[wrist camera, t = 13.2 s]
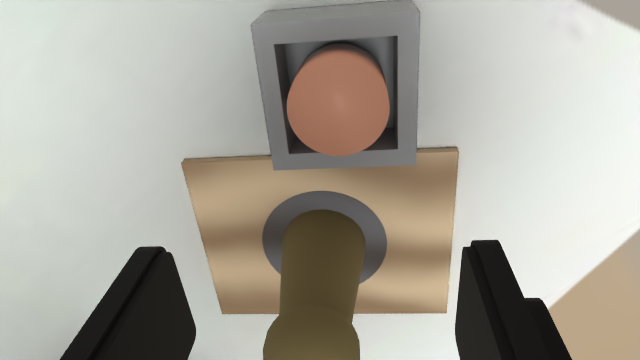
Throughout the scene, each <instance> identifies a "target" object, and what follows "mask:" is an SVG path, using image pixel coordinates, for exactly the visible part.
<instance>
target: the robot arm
mask: <svg viewBox="0 0 640 360" xmlns="http://www.w3.org/2000/svg"><path fill="white" fill-rule="evenodd" d="M455 336H456V343H457V347H458V352H459V356H460V360H572V359H571V357H570V355H569V353H568V350H567V348H566V346H565V344H564V342H563V340H562V338H561V336H560V334H559V332H558V330H557V328H556V326H555V324H554V322H553V320H552V318H551V316H550V313H549V311H548V309H547V307H546V306H545V304H544V302H543V301H542V300H541V299H540V298H524V296H523V294H522V292H521V290H520V287H519V285H518V283H517V280H516V278H515V276H514V274H513V271H512V269H511V267H510V264H509V262H508V260H507V258H506V255H505V253H504V251H503V249H502V246H501V244H500V242H499V241H498V240H473V241H472V242H471V246H470V247H463V250H462V259H461V270H460V281H459V291H458V302H457V313H456V323H455ZM195 337H196V327H195V323H194V320H193V317H192V314H191V311H190V308H189V305H188V301H187V298H186V295H185V292H184V289H183V286H182V283H181V280H180V277H179V274H178V270H177V267H176V264H175V261H174V258H173V255H172V254H171V253H170V252H166V250H165V248H164V247H161V246H157V247H139V248H137V249H136V250H135V252H134V253H133V255H132V256H131V257H130V259H129V260H128V262H127V263H126V265H125V266H124V268H123V269H122V270H121V272H120V273H119V275H118V276H117V278H116V279H115V281H114V282H113V283H112V285H111V286H110V288H109V289H108V291H107V292H106V294H105V295H104V296H103V298H102V299H101V301H100V302H99V304H98V305H97V307H96V308H95V309H94V311H93V312H92V314H91V315H90V317H89V318H88V320H87V321H86V322H85V324H84V325H83V327H82V328H81V330H80V331H79V333H78V334H77V335H76V337H75V338H74V340H73V341H72V343H71V344H70V346H69V347H68V349H67V350H66V351H65V353H64V354H63V356H62V357H61V359H60V360H187V359H188V357H189V354H190V351H191V349H192V346H193V344H194V341H195Z"/></svg>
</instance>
